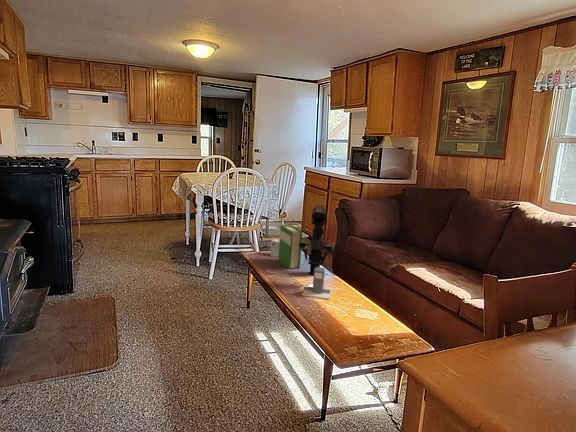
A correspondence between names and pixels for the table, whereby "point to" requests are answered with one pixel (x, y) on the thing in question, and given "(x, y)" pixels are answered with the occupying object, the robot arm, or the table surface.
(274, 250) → the light bulb box
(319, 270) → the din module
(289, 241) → the hardback book
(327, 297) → the board
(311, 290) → the din rail
